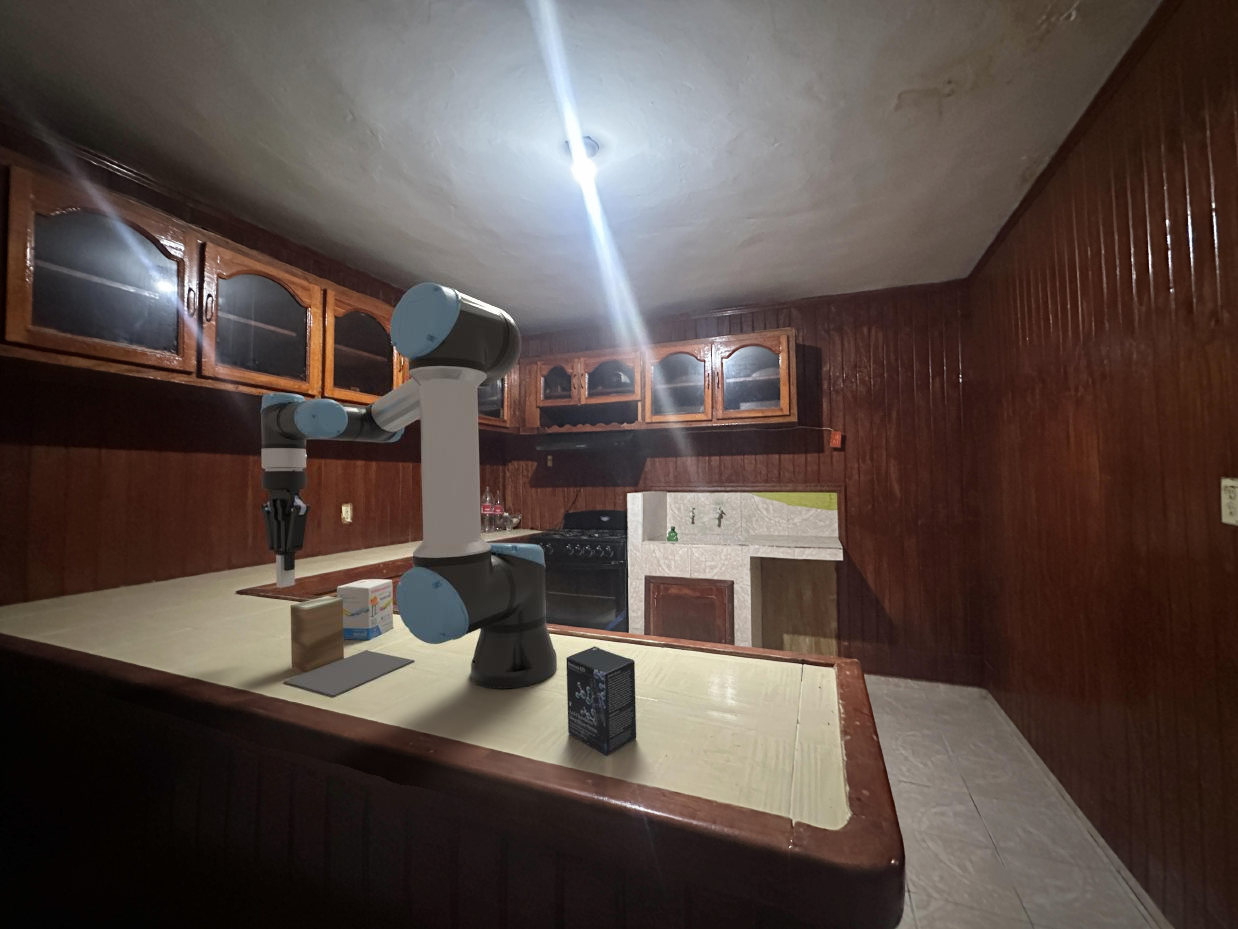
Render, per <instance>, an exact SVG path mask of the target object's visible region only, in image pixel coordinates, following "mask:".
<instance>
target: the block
mask: <svg viewBox="0 0 1238 929" xmlns="http://www.w3.org/2000/svg"><path fill="white" fill-rule="evenodd" d="M344 642H345V641H344V639H343V598H337V596H336V597H335V596H329V595H326V596H322V597H319V598H314V599H310V600H305V601H301V602H298V603H293V604H290V644H291V645H290V647H291V648H290V649H291V650H290V651H291V658H290V659H291V669H292V670H295V671H300V672H303V673H307V672H309V671H312V670H315V669H317V668H320V667H323V666H325V665H328V664H331V663H333V662H336V661H339V660H341V659H344V658H345V656H344V654H345V651H344V650H345V649H344V647H345V646H344Z"/></svg>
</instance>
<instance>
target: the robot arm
mask: <svg viewBox="0 0 1238 929" xmlns="http://www.w3.org/2000/svg"><path fill="white" fill-rule="evenodd" d="M389 326H390V327H389V334H390V341H391V344H392V345H393V347H394V348H395V351H396V352H397V353H398V354H400V355H401V356H402V357H404V358H406V359H407V361H408V375H409V377H410V379H408V380H407V381H404V382H403V383H402V384H400V385H399V386H397V387H395V388H394V389H393V390H391V391H389V392H388V393H386V394H384V395H383V396H381V397H380V398H378V399H376V400H375V401H374V402H372V403H371V404H368V405H355V404H349V403H339V402H337V401H335V400H334V399H330V398H319V397H318V398H317V397H316V398H312V399H307V400H306V398H305V397H304V396H302V395H300V394H296V393H287V392H269V393H265V394H263V396H262V398H261V409H260V420H261V422H260V423H261V424H260V425H261V468H262V469H265V471H263V472H262V473H261V488H262V490H265V491H269V495H268V502H267V503H262V504H260V509H261V511H262V514H263V520H264V526H265V533H266V540H267V547H268V551H272V552H273V554H275V558H276V560H275V563H276V564H275V565H276V566H275V568H276V569H275V570H276V571H275V572H276V573H275V574H276V577H275V578H276V579H275V580H276V581H275V583H276V588H280V589H282V588H286V587H292V586H295V585H296V572H295V571H296V569H295V568H296V559H295V558H296V556H295V555H296V554H297V552H299V551H302V550H303V548H304V540H305V534H306V533H305V532H306V526H307V519H308V518H307V517H308V514H309V511H310V509H311V506H310V504H309V503H306V504H304V503H303V501H302V498H303V497H302V493H301V490H304V489H306V488H307V487H308V483H307V478H308V476H307V472H306V471H303V469H306V468H307V458H308V455H307V440H329V441H330V440H331V441H353V442H370V443H377V444H385V443H394V442H397V441H399V440H400V439H401V436H402V435H403V434H404V432H405V428H406V427H407V426H409V425H411V423H414V422H415V421H417V420H419V419H420V454H421V455H420V456H421V457H420V458H421V491H422V492H421V498H422V501H421V503H422V539H423V540H422V541H421V543H420V544H419V545H418V546H417V547H416V549H414V551H413V552H412V568H409V570H407V571H406V572H404V573H403V574H402V575H401V577H400V581H398V582H397V584H396V590H395V602H396V607H397V611H398V614H399V616H400V619H401V621H402V623H403V624H404V626H405V627H406V628H407V629H408V630H409V633H411V634H412V635H413V637H415V638H416V639H418V640H420V641H421V642H424V643H427V644H430V645H432V644H433V645H438V644H444V643H446V642H450V641H455V640H459V639H461V638H463V637H464V636H466V635H468V634H471V633H473V632H475V631H478V630H480V631H479V635H478V639H477V642H476V646H475V650H474V654H473V658H472V660H471V662H470V678H471V680H472V681H473V683H475V684H477V685H478V686H482V687H485V688H489V689H490V688H492V689H513V688H522V687H527V686H531V685H534V684H537V683H541V682H542V681H544V680H547V679H548V678H550V677H551V676H552V675H553V674H555V672H556V671H557V668H558V663H557V652H556V650H555V649H554V645H553V642H552V639H551V636H550V632H549V630H548V627H547V626H548V625H547V617H546V616H547V614H546V613H547V612H546V610H547V609H546V608H547V606H546V568H547V567H546V563H545V553H544V549H543V548H542V546H540V545H538V544H536V543H535V544H534V543H517V542H516V543H515V542H487V541H486V540H485V539H483V537H482V524H481V523H482V522H481V521H482V520H481V519H482V518H481V488H480V487H481V483H480V481H481V480H480V449H479V448H480V444H479V443H480V442H479V440H480V438H479V407H478V406H479V402H478V388H481V389H482V388H488V387H489V386H491V385H493V384H495V383H497V382H498V381H500V380H501V379H503V378H504V377H505V376H506V375H508V374H509V373H510V372H511V371H512V370H513V369H514V367H516V365H517V363H518V361H519V359H520V356H521V351H522V338H521V332H520V330H519V328H518V326H517V324H516V323H515V321H514V319H513V318H512V317H511V316H510V315H509V314H508V313H507V312H505V311H504V310H503V309H500V308H498V307H496V306H494V305H490V304H488V303H485V302H483V301H482V300H478V299H476V298H473V297H471V296H469V295H466V294H464V293H462V292H460V291H457V290H456V289H455V288H453V287H451V286H450V287H448V286H443V285H440V284H438V283H435V282H422V283H419V284H416V285H414V286H412V287H411V288H410V289H408V290H407V291H406V292H405V293H404V294H403V295H402V297H401V299H400V301H399V302H398V303H397V305H396V306H395V308H394V310H393V313H392V316H391V320H390V325H389Z"/></svg>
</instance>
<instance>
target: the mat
mask: <svg viewBox="0 0 1238 929" xmlns="http://www.w3.org/2000/svg"><path fill="white" fill-rule="evenodd" d="M412 663H415V660H414V659H410V658H406V657H401V656H396V655H390V654H386V653H381V652H377V651H371V650H364V651H360V652H358V653H355V654H353V655H349V656H347V657H344V659H341V660H339V661H336V662H333V663H331V664H328V665H325V666H323V667H320V668H317V669H315V670H312V671H309V672H307V673H306V672H303V673H302V674H299V675H296V676H294V677H291V678H289V679H285V680H283V681H282V682H283V684H287V685H290V686H294V687H297V688H300V689H304V690H307V691H312V692H315V693H318V694H321V695H325V696H329V697H332V698H336V697H338V696H339V695H342V694H344V693H346V692H349V691H351V690H353V689H355V688H357V687H358V688H359V687H360V686H362V685H365V684H367V683H369V682H371V681H374V680H376V679H378V678H381V677H382V676H385V675H388V674H390V673H392V672H395V671H396V670H399V669H402V668H403V667H406V666H407V665H410V664H412Z"/></svg>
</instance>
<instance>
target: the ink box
mask: <svg viewBox="0 0 1238 929" xmlns="http://www.w3.org/2000/svg"><path fill="white" fill-rule="evenodd" d="M393 595H394V594H393V580H392V579H384V578H383V579H379V578H377V579H376V578H369V579H360V580H357V581H353V582H350V583H346V584H343V585H338V586H337V587H336V598H343V640H358V641H359V640H361V641H370V640H373V639H374V638H376V637H378V636H381V635H382V634H385V633H386V631H387V632H388V631H391V630H393V629H394V610H393V609H394V608H393V607H394V605H393V603H394V602H393V601H394V600H393V598H394V597H393Z"/></svg>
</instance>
